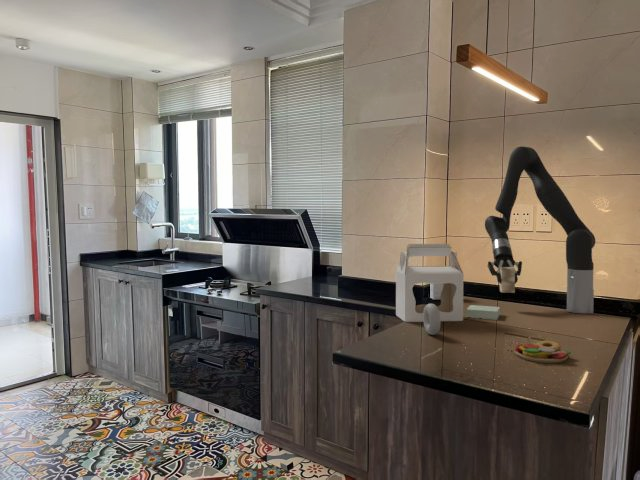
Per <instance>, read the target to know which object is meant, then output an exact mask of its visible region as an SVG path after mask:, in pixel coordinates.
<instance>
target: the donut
mask: <svg viewBox="0 0 640 480" xmlns="http://www.w3.org/2000/svg"><path fill="white" fill-rule="evenodd" d="M425 305H426V306H425V308H424V312H423V322H422V323H423V325H424V329H425V331H426V333H427V334H429V335H431V336H435V335H437V334H438V333H439V331H440V329H441V326H442V325H441V322H442V321H441V318H440V313H439V310H438V308H437V307H438V306H437V305H436V304H434V303H428V304H427V303H426V304H425Z"/></svg>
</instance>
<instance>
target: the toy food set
mask: <svg viewBox="0 0 640 480" xmlns="http://www.w3.org/2000/svg"><path fill="white" fill-rule="evenodd" d="M515 346H516V347H515V349H514V353H515V355H517V356H518V357H519V358H521V359H523V360H527V361H531V362H537V363H545V364H547V363H548V364H553V363H554V364H556V363H562V362H564V361H565V360H567V359H568V357H569V356H570V355H571V351H570V350H562V348H561V344H559V343H558V342H555V341H552V340H540V341H537V342H536V343H533V344H530V343H526V344H524V345H522V344H517V345H515Z"/></svg>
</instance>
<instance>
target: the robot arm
mask: <svg viewBox="0 0 640 480" xmlns="http://www.w3.org/2000/svg"><path fill="white" fill-rule="evenodd" d="M540 157H541V156H539V154H538V152H537V151H536V150H535V149H534V148H533V147H530V146H517V147H516V148H514V149H512V151H511V153H510V155H509V158H508V164H507V170H506V174H505V178H504V181H503V185H502V188H501V191H500V194H499V196H498V198H497V201H496V204H495V207H494V208H495V211H496V212H498V213H500V214H501V215H502V217H500V216H496V215H489V216H487V217H486V218H485V221H484V228H485V230H486V233H487V234H488V236H489V238H490V239H491V245H492V246H491V247H492V254H493V261H488V262H487V268H488V270H489V273H490V275H491V276H492V277H493V276H495V277H496V278H497V279H496V280H497V281H496V282H498V283H499V284H500V283H501V282H502V279H501V274H500V267H513V268H515V267H516V268H517V270H516V269H515V284H517V283H518V280H519V278H518V276H521V273H522V267H523V262H522V260H521V261H519V262H518V261H515V260H514V256H513V251H512V245H511V244H510V239H509V235H508V233H507V232H508V231H509V229H510V226H511V217H512V216H511V215H512V210H513V207H514V205H515V203H516V201H517V196H518V192H519V191H518V190H519V184H520V183H519V182H520V179H521V176H522V174H523V172H525V173H526V174H527V176H528V177H529V179H530V180H531V183H532V184H533V188H534V191H535V195H536V197H537V199H538V200H539V202H540V204H541V205H542V207H543V208H544V210H545V211H546V212H547V213H548V215H550V216H551V217H552V218H553V219H554V220H555V221H556V222H557V223H558V224H559V225H560V226H561V227H562V230H564V232H565V233H566V236H567V237H566V239H565V260H566V266H567V267H566V268H567V269H566V270H567V271H566V273H567V274H566V311H567V312H569V313H574V314H586V315H587V314H592V315H593V314H594V304H595V303H594V301H595V300H594V299H595V298H594V297H595V296H594V292H595V291H594V266H595V265H594V261H593V249H594V247H595V245H596V238H595V235H594V234H593V232H592V231H591V230H590V229H589V228H588V227H587V225H585V223H584V222H583V221H582V220H581V218H580V217H579V215H578V214H577V213H576V210H575V208H573V206H572V204H571V202H570V201H569V199H568V198H567V196H566V194H565V193H564V191H563V190H562V188H561V186H559V185H558V183H557V182H556V181H555V179H554V178H553V176H552V175H551V174H550V173H549V172H548V170H547V168H546V167H545V165H544V164H543V162H542V160H541V158H540ZM514 266H515V267H514ZM494 267H495V268H496V269H497V271H496V270H495V268H494Z"/></svg>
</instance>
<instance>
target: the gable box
mask: <svg viewBox="0 0 640 480" xmlns="http://www.w3.org/2000/svg"><path fill="white" fill-rule="evenodd" d="M457 253H458V252H456V251H455V252H454V251H452V246H451V245H450V244H449V243H408V245H407V248H406V251H405V252H400V259H399V264H398V266H397V268H396V270H395V315H396V317H398V318H399V319H401V320H402V321H403V322H404V323H424V322H423V312H424V308H425V306H426V305H427V304H417V305H416V302H417V301H416V298H415V296H414V291H413V287H414V286H415V285H416V284H420V283H421V284H422V283H423V284H425V283H426V284H429V283H432V284H444V286H443V290H442V292H441V300H440V305H438V306H437V308H438V310H439V313H440V318H441V322H463V321H464V271H463V270H462V268H461V265H460V264H459V261H458V254H457ZM410 257H411V258H413V257H448V258H449V259H448V264H449V265H444V266H443V265H441V266H440V265H439V266H438V265H437V266H435V265H433V266H432V265H431V266H428V265H427V266H426V265H425V266H424V265H423V266H421V265H420V266H417V265H416V266H413V265H411V266H409V259H410Z"/></svg>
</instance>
